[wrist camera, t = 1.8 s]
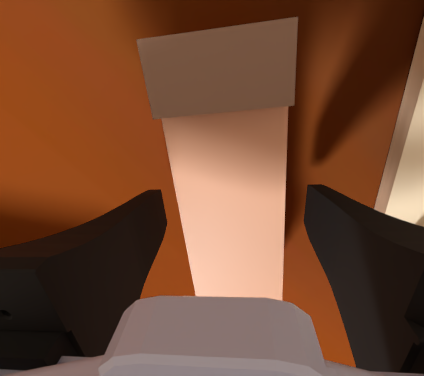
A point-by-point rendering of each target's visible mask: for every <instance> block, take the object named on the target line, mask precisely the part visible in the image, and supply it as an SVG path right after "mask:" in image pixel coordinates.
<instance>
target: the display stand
mask: <svg viewBox="0 0 424 376" xmlns="http://www.w3.org/2000/svg"><path fill="white" fill-rule="evenodd" d="M374 209H375V210H377V211H379V212H382V213H384V214H387V215H390V216H392V217H395V218H398V219H401V220H404V221H407V222H410V223H413V224H416V225H420V226H423V227H424V18H423V21H422V25H421V29H420V33H419V37H418V41H417V45H416V48H415V52H414V56H413V60H412V64H411V68H410V72H409V76H408V79H407V83H406V87H405V91H404V95H403V99H402V103H401V107H400V110H399V114H398V118H397V122H396V126H395V130H394V134H393V137H392V141H391V145H390V149H389V153H388V157H387V161H386V165H385V168H384V172H383V176H382V180H381V184H380V188H379V192H378V196H377V199H376V203H375V207H374Z"/></svg>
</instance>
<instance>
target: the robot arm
mask: <svg viewBox="0 0 424 376" xmlns="http://www.w3.org/2000/svg"><path fill="white" fill-rule="evenodd" d="M304 224H305V227H306V231H307V234H308V237H309V240H310V242H311V244H312V246H313V248H314V250H315V253H316V255H317V257H318V259H319V261H320V263H321V265H322V267H323V269H324V271H325V274H326V276H327V278H328V280H329V283H330V285H331V288H332V290H333V293H334V296H335V299H336V302H337V305H338V308H339V311H340V314H341V317H342V320H343V324H344V327H345V330H346V333H347V337H348V340H349V343H350V347H351V350H352V354H353V357H354V360H355V364H356V368H355V367H351V366H347V365H344V364H340V363H336V362H332V361H328V360H324V358H323V355H322V352H321V349H320V346H319V342H318V339H317V336H316V333H315V329H314V326H313V323H312V320H311V316H309V315H308V314H307V313H305V312H304V311H302V310H301V309H300V308H298V307H297V306H296V305H294V304H293V303H290V302H286V301H281V300H276V299H271V298H266V297H213V296H155V297H150V298H144V299H140V296H141V292H142V289H143V286H144V283H145V280H146V278H147V275H148V273H149V271H150V268H151V266H152V264H153V261H154V259H155V257H156V255H157V252H158V250H159V248H160V245H161V243H162V241H163V238H164V234H165V230H166V226H167V219H166V214H165V209H164V204H163V199H162V193H161V190H148V191H145V192H143V193H141V194H140V195H138V196H136V197H134V198H133V199H131V200H129V201H128V202H126V203H124V204H122V205H121V206H119V207H117V208H115V209H113V210H111V211H110V212H108V213H106V214H104V215H102V216H100V217H98V218H96V219H94V220H91V221H89V222H87V223H84V224H82V225H80V226H77V227H74V228H71V229H69V230H66V231H63V232H60V233H57V234H54V235H51V236H48V237H44V238H41V239H37V240H34V241H30V242H26V243H22V244H18V245H13V246H9V247H4V248H0V376H424V227H423V226H420V225H416V224H413V223H410V222H407V221H404V220H401V219H398V218H395V217H392V216H390V215H387V214H384V213H382V212H379V211H377V210H375V209H372V208H370V207H368V206H365V205H363V204H361V203H359V202H357V201H355V200H353V199H351V198H349V197H347V196H345V195H343V194H341V193H339V192H337V191H335V190H333V189H331V188H329V187H327V186H324V185H321V184H319V185H308V187H307V196H306V205H305V214H304ZM139 299H140V300H139Z"/></svg>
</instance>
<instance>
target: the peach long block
mask: <svg viewBox="0 0 424 376" xmlns="http://www.w3.org/2000/svg"><path fill="white" fill-rule="evenodd" d="M297 30H298V17H292V18H285V19H278V20H271V21H264V22H257V23H250V24H243V25H236V26H229V27H222V28H215V29H208V30H201V31H194V32H187V33H180V34H173V35H165V36H158V37H151V38H144V39H137V40H136V41H137V45H138V50H139V55H140V60H141V64H142V69H143V74H144V79H145V84H146V88H147V93H148V98H149V103H150V107H151V112H152V117H153V119H162V124H163V129H164V134H165V140H166V145H167V150H168V155H169V160H170V165H171V170H172V176H173V181H174V186H175V191H176V196H177V201H178V206H179V212H180V217H181V222H182V227H183V232H184V237H185V242H186V248H187V253H188V258H189V263H190V268H191V273H192V278H193V284H194V289H195V294H196V296H213V297H266V298H271V299H276V300H281V301H282V288H283V257H284V225H285V193H286V162H287V130H288V106H294V101H295V77H296V54H297Z"/></svg>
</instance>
